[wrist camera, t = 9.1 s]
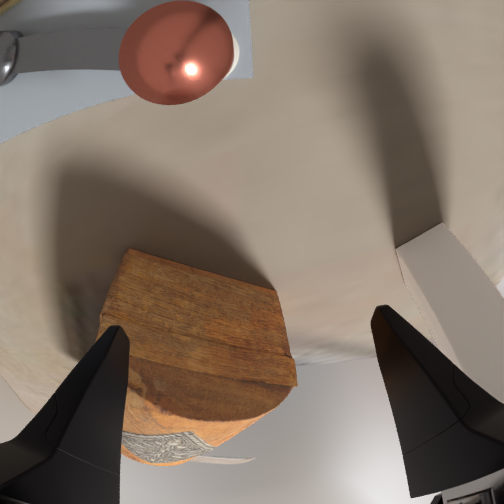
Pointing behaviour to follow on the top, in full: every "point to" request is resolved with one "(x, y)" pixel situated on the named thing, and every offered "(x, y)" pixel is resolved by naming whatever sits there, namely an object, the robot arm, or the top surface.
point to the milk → (457, 305)
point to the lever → (135, 52)
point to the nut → (3, 2)
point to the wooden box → (194, 356)
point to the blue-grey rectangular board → (90, 81)
